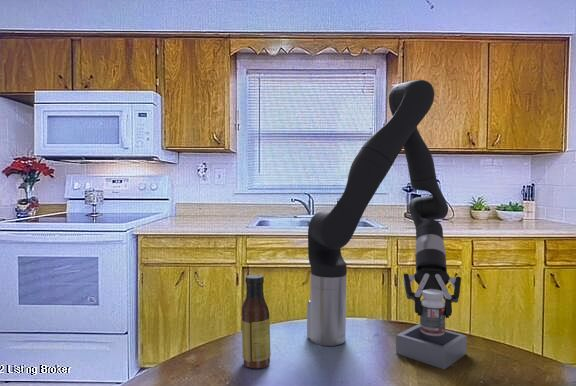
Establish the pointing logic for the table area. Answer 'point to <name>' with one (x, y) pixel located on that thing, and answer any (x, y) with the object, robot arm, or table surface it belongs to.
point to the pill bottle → (432, 313)
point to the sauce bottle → (255, 325)
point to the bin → (431, 347)
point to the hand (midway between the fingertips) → (433, 315)
